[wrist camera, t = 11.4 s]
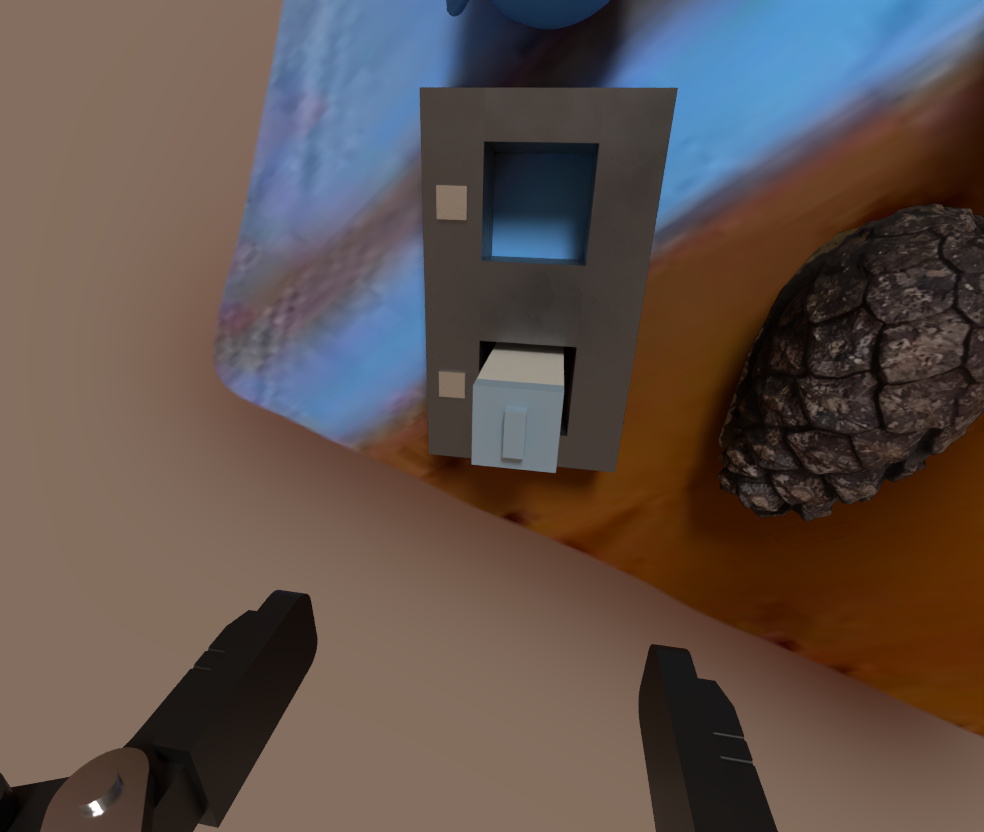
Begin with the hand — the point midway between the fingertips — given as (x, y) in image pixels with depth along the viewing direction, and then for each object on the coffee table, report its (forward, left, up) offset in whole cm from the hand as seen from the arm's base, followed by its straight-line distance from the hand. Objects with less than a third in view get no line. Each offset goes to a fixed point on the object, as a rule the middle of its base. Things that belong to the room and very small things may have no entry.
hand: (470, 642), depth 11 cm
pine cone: (-18, -1, -22) cm, 29 cm away
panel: (0, -5, -22) cm, 23 cm away
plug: (0, 0, -22) cm, 22 cm away
